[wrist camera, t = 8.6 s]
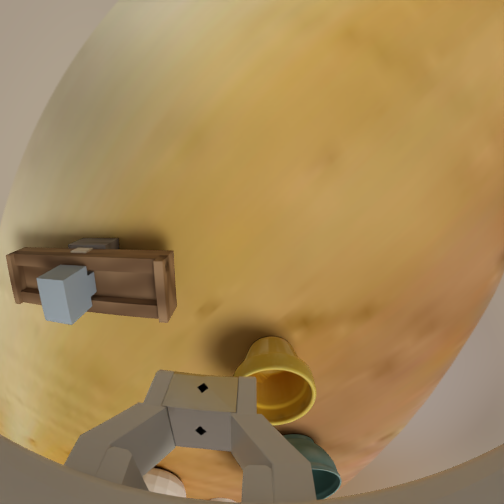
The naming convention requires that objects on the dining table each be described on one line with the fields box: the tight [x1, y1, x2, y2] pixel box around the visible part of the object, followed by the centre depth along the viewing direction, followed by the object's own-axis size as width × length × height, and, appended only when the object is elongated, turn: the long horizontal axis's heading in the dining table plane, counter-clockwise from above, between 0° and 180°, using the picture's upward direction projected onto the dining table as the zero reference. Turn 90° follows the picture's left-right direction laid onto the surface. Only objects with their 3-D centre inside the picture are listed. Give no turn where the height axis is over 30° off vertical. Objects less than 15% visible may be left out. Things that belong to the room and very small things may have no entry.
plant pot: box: [233, 336, 316, 425], centre depth 37 cm, size 10×10×10 cm
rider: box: [36, 265, 97, 325], centre depth 29 cm, size 5×4×7 cm
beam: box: [6, 238, 177, 323], centre depth 34 cm, size 8×24×8 cm, turn 89°
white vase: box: [143, 468, 186, 498], centre depth 45 cm, size 13×13×14 cm
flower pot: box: [283, 434, 341, 500], centre depth 42 cm, size 16×16×11 cm
